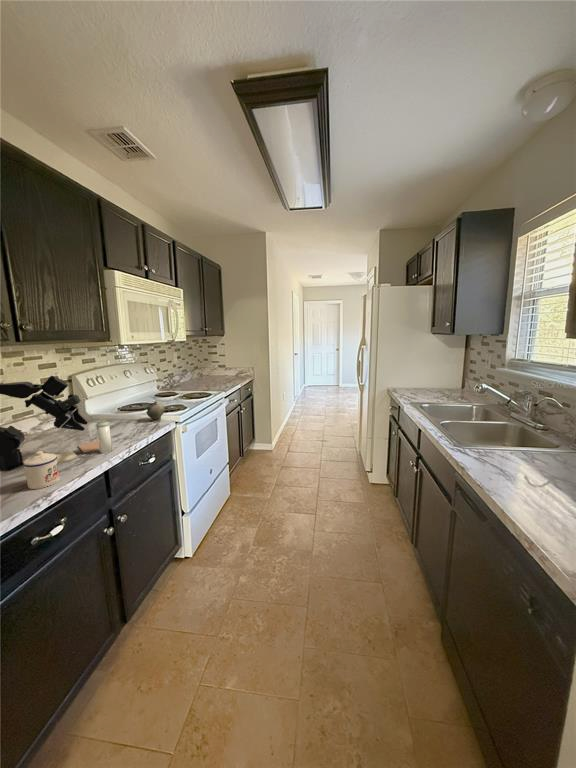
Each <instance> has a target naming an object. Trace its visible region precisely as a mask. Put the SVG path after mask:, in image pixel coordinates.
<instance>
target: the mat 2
mask: <svg viewBox="0 0 576 768" xmlns="http://www.w3.org/2000/svg"><path fill="white" fill-rule="evenodd" d="M77 447H78V448H79V450H81V452H82V453H84V454H86V453H89V452H93V451H97V450H100V447H99V440H95V441H91V442H87V443H83V444H79V445H77Z"/></svg>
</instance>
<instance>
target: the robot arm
mask: <svg viewBox="0 0 576 768" xmlns="http://www.w3.org/2000/svg"><path fill="white" fill-rule="evenodd" d="M68 386H69V383H68V382H66V381H65V380H63V379H61V378H59V377H57V376H55V375H50V376H49V377H48V379H47V380H46V381H45V382H44V383H43V384H39V383H38V384H37V383H35V384H34V383H32V382H31V381H17V382H16V381H15V382H0V395H4V396H8V397H10V398H15V399H16V398H17V399H25V400H24V403H25V408H29V407H30V406H31V405H33V406H35V407H37V408H38V409H41V411H43V412H45V413H44V414H45V415H50V416H52V417H54V418H55V420H54V421H53V427H55V428H57V429H68V430H75V431H80V432H83V431H85V429H86V428H85V427H83V425H85V426H86V425H88V424H89V423H88V421H87V420H86V419H85V418H84V417H83V416H82V415H81V414H80V411H79V407H78V404H79V403H81V401H82V400H81V399H80V396H79V395H77V394H73V393H71V394H69V395H67V398H65V400H61V399H55V398H54V397H59V396H60V394H62V393H63V391H65V390H66V389H67V388H68ZM40 391H41V392H40ZM37 393H39V394H37ZM33 394H34V395H33ZM29 397H30V398H29ZM27 398H29V399H27ZM25 439H26V437H25V434H24V433H23V432H22V430H21V429H18V428H15V426H13V425H9V426H7V427H3V426H0V471H7V470H9V471H12V470H14V469H17V468H18V467H21V466H23V463H24V460H23V459H24V458H23V454H22V451H21V449H20V446H21V445H22V444H23V443H24V441H25ZM11 469H12V470H11Z"/></svg>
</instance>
